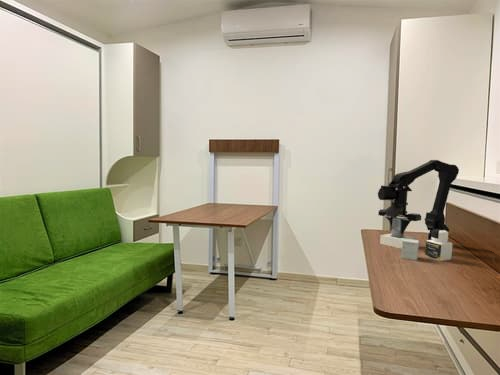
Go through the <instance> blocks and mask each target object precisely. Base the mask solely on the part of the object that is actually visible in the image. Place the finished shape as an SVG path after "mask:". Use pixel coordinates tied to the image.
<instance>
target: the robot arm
mask: <svg viewBox="0 0 500 375" xmlns="http://www.w3.org/2000/svg"><path fill="white" fill-rule="evenodd" d="M432 171H435V172H436V173H437V177H438V179H439V183H438V187H437V190H436V195H435V197H434V203H433V206H432V209H431V211H430V212H428V211H427V212H426V214H425V218H424V224H425V226H426V230H427V231H429V232H428V236H427V240H432V239H431V235H432V230H434V229H441V230H446V231H447V232H448V233H449V232H450V228H449V227H448V226H447V225H446V217H445V208H446V204H447V200H448V197H449V194H450V189H451V185H452V183H453V182H454V181H455V180H457V177H458V174H459V171H460V170H459V167H458V166H457V165H456V164H450V163H447V162H443V161H440V160H439V159H431V160H429V161H426V162H425V163H423V164H422V165H421V164H420V165H419V166H417V167H415V168H412V169H411V170H409V171H408V170H407V171H404V172H402V171H401V172H398V173H395V174H394V175H393V178H392V180H391V181H390V183H388V184H387V185H381V186H380V188H379V189H378V191H377V196H378V199H379V200H380V201H393V202H391V205H390V206H389V207H388V208H386V209H385V208H382V209H379V210H378V213H377V215H378V216H382V217H384V218H385V219H387V220H388V221H389V224H390V228H391V229H392V221H393V218H396V217H398V218H404V219H403V220H401V221H402V228H401V234H403V233H404V234H405V231H406V229H407V228H408V226H409V224H410V223H411V222H418V221H422V216H421V214H420V213H414V212H413V213H408V211H407V206H408V205H409V202H408V192H412V191H413V190H412V188H410V186H409V185H411V184H412V183H414V181H415V180H416V179H418V178H420V177H422V176H424V175H425V174H428V173H430V172H432Z"/></svg>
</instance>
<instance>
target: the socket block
mask: <svg viewBox="0 0 500 375" xmlns="http://www.w3.org/2000/svg"><path fill="white" fill-rule="evenodd" d="M391 235H392V232H391V233H387V234H380V242H379V244H380V245H385V246H389V247H392V248H397V249H401V250H402V242H403V239H404V238H405V239H413V240H415V237H414V236H408V235H405V234H404V238H396V237H391Z"/></svg>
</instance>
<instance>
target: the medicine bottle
mask: <svg viewBox="0 0 500 375" xmlns="http://www.w3.org/2000/svg"><path fill="white" fill-rule="evenodd" d="M431 239H432V240H428V239H427V240H425V250H424V257H425V258H429V259H432V260H434V261H438V262H442V261H450V260H452V255H453V254H452V253H453V252H452V251H453V243H452V242H450V241H449V232H447V231H446V230H441V229H434V230H432V235H431Z"/></svg>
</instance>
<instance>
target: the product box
mask: <svg viewBox="0 0 500 375" xmlns="http://www.w3.org/2000/svg"><path fill="white" fill-rule="evenodd" d="M419 245H420V240H418V239H414V240H413V239H405V238H404V239H403V242H402V249H401V254H400V255H401V256H400V258H401V259H405V260H406V259H407V260H413V261H418V256H419V255H418V254H419Z"/></svg>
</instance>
